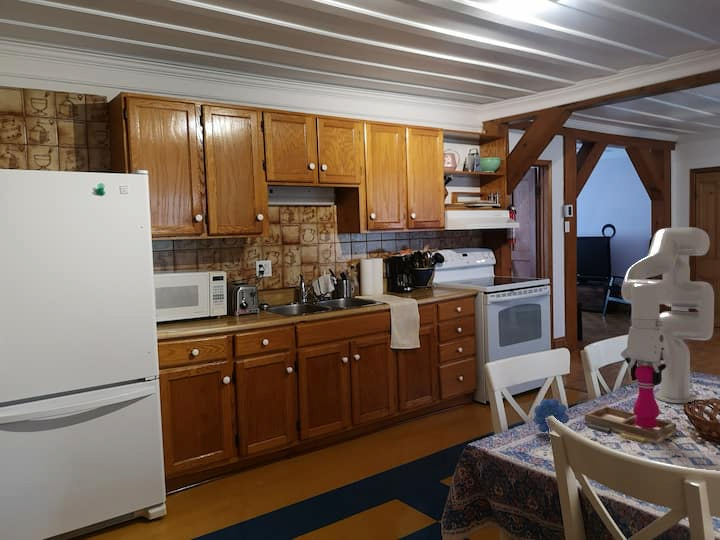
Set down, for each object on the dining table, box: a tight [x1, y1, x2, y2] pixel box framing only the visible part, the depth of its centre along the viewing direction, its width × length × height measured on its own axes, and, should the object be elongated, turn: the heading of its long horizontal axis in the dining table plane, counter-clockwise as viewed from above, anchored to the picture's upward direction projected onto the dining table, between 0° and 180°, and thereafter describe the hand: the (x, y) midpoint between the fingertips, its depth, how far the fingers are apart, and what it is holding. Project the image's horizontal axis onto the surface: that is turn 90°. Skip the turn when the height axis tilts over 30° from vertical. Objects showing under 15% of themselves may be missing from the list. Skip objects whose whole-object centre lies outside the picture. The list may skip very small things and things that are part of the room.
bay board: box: [584, 405, 677, 444], centre depth 178 cm, size 14×23×3 cm, turn 36°
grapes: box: [533, 397, 570, 434], centre depth 176 cm, size 12×7×12 cm, turn 43°
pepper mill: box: [632, 361, 660, 428], centre depth 173 cm, size 7×7×20 cm
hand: (645, 381), depth 173 cm, fingers closed on pepper mill, 6 cm apart
